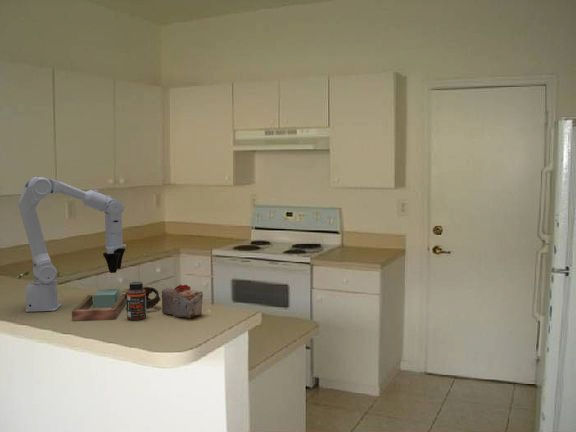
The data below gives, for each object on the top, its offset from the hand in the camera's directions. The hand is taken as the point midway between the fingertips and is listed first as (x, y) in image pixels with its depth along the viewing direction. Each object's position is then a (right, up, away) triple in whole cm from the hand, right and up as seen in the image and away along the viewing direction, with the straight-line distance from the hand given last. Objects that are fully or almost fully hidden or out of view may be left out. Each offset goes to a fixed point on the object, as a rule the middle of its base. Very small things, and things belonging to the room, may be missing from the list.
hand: (115, 270), depth 206 cm
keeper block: (-1, -11, -6) cm, 13 cm away
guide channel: (0, -12, -15) cm, 19 cm away
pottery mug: (+13, -12, -12) cm, 21 cm away
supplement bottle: (+14, -13, -24) cm, 31 cm away
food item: (+28, -13, -21) cm, 37 cm away
